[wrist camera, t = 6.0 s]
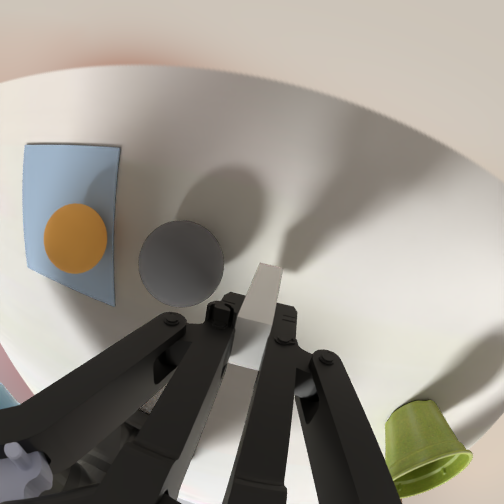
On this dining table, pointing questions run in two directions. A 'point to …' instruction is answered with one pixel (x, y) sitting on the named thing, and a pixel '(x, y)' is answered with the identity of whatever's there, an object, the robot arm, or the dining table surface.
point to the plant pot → (422, 449)
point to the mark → (68, 192)
